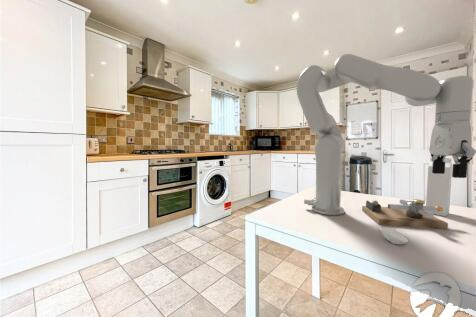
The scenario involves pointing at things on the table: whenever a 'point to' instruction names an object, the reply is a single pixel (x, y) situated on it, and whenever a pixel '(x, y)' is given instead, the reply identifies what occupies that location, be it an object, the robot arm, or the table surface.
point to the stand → (399, 217)
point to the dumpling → (393, 236)
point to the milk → (439, 188)
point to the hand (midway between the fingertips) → (448, 175)
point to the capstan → (416, 208)
